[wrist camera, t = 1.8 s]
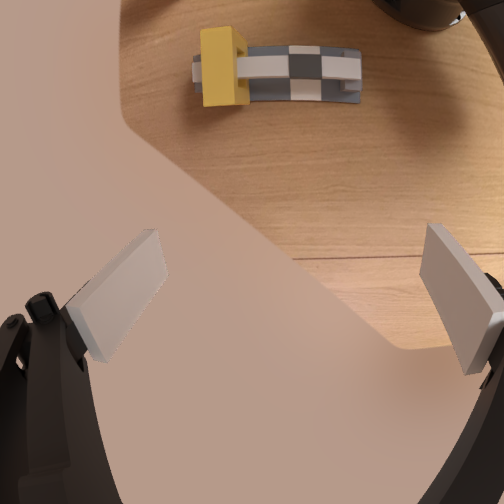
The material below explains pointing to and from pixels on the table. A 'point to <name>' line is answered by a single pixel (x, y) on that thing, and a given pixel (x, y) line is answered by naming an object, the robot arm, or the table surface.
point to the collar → (223, 67)
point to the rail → (283, 83)
